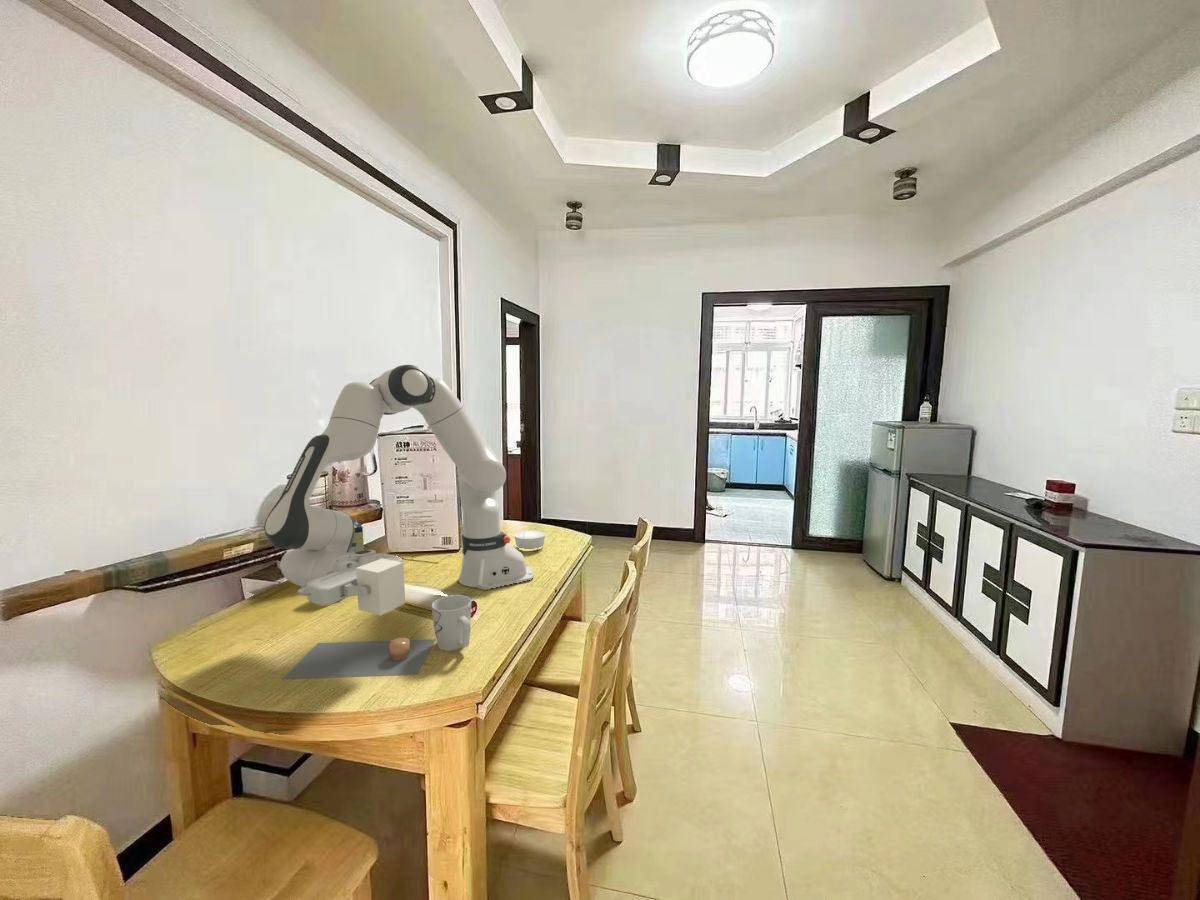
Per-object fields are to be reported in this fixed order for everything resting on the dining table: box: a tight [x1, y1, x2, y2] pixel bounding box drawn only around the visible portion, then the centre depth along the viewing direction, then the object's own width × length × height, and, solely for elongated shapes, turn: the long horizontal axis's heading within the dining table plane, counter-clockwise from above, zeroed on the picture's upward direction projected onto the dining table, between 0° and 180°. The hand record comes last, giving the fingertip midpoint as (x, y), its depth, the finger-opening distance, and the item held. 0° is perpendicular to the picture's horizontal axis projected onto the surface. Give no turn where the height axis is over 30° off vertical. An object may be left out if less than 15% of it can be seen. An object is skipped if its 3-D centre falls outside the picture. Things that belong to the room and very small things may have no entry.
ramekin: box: [514, 530, 546, 549], centre depth 177 cm, size 11×11×5 cm
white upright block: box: [356, 558, 406, 616], centre depth 101 cm, size 6×6×9 cm
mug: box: [431, 594, 472, 652], centre depth 107 cm, size 11×8×10 cm
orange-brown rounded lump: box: [389, 637, 410, 661], centre depth 102 cm, size 4×4×3 cm
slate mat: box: [281, 638, 437, 681], centre depth 102 cm, size 26×14×1 cm, turn 94°
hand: (384, 584), depth 100 cm, fingers closed on white upright block, 6 cm apart
